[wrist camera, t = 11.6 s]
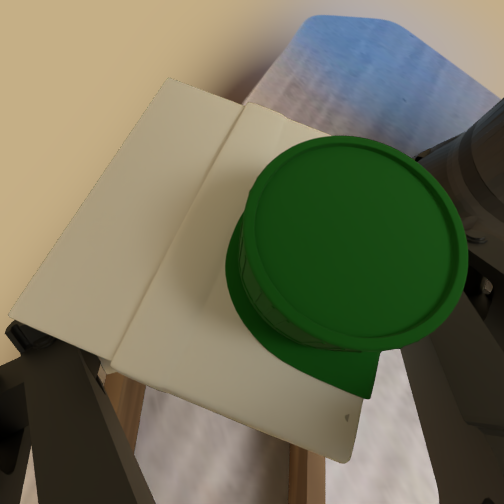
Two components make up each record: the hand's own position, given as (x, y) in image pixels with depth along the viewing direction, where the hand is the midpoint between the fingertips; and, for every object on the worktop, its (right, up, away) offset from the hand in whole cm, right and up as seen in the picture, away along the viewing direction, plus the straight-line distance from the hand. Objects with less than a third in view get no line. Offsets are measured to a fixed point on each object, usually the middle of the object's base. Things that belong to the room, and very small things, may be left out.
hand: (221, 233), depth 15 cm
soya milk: (0, -6, +9) cm, 10 cm away
